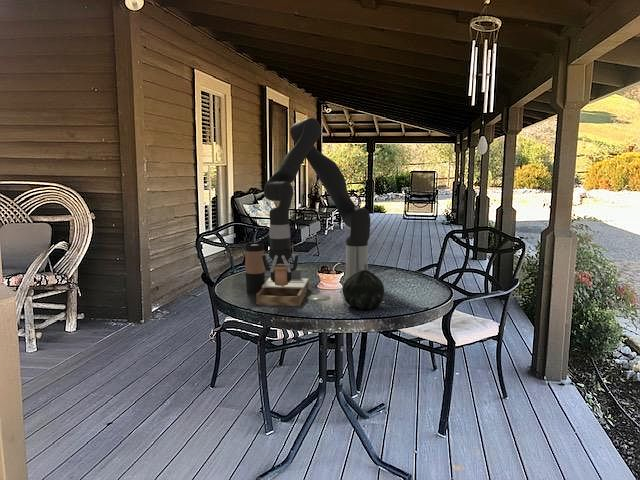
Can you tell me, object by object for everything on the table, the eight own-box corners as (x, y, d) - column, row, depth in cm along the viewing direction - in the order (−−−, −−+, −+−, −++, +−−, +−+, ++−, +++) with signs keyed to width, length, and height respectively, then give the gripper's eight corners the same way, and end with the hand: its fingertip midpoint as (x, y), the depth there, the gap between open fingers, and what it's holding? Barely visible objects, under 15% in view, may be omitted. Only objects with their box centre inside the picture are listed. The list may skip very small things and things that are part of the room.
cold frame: (308, 291, 206) (308, 280, 206) (299, 307, 183) (299, 295, 182) (270, 290, 208) (269, 279, 207) (256, 306, 184) (256, 294, 184)
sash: (308, 279, 205) (308, 269, 205) (303, 288, 191) (303, 277, 190) (269, 279, 207) (269, 268, 206) (261, 287, 193) (261, 276, 192)
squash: (362, 284, 195) (348, 259, 185) (396, 291, 186) (382, 266, 176) (345, 314, 189) (329, 290, 179) (379, 323, 179) (364, 298, 170)
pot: (290, 282, 189) (290, 263, 188) (288, 286, 184) (287, 266, 183) (275, 282, 190) (274, 263, 189) (272, 285, 184) (271, 266, 183)
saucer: (331, 296, 197) (331, 294, 197) (329, 303, 189) (329, 301, 188) (308, 296, 198) (308, 294, 198) (305, 302, 190) (305, 300, 189)
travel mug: (242, 294, 202) (241, 245, 199) (251, 289, 209) (250, 242, 206) (259, 296, 199) (258, 246, 196) (268, 291, 206) (267, 243, 203)
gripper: (300, 234, 187) (302, 279, 190) (262, 234, 189) (264, 279, 191) (297, 237, 180) (299, 284, 182) (258, 238, 181) (260, 284, 184)
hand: (281, 281), depth 187 cm, fingers closed on pot, 5 cm apart
